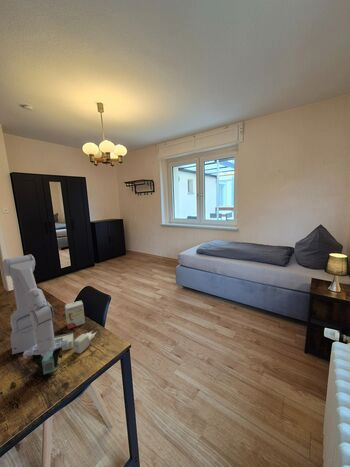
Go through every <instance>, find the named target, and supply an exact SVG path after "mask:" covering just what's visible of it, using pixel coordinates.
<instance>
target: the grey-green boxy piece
mask: <svg viewBox="0 0 350 467" xmlns="http://www.w3.org/2000/svg"><path fill="white" fill-rule="evenodd" d="M53 351H54V350H53ZM53 351H51V352H49V353H48V354H47V355H44V356H43V360H42V367H43V371H42V372H43V375H46V374H51V373H53V372H56V371H57V367H56V368H55V366H54V359H53V356H52V354H53ZM59 358H60V357H58V359H59Z"/></svg>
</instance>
